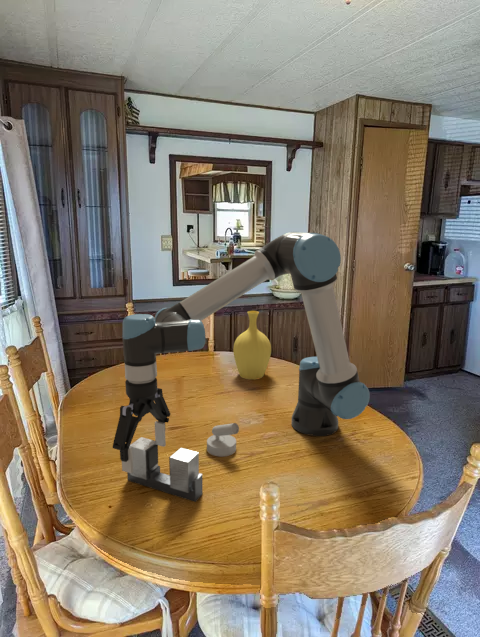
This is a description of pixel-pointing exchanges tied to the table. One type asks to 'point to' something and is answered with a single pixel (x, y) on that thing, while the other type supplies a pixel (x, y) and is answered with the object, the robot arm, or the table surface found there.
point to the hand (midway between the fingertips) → (145, 457)
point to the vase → (252, 350)
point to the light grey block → (144, 457)
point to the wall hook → (222, 440)
